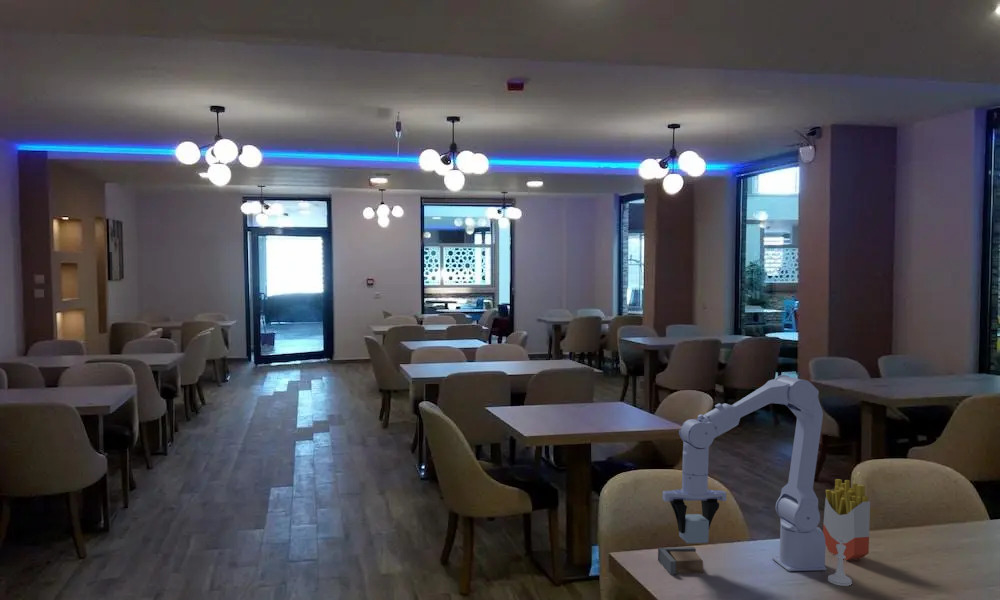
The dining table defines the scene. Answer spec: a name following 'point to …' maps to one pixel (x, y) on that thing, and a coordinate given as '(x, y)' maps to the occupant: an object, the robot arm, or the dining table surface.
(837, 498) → the french fries container
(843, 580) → the chess piece
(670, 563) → the corner jig
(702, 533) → the blue-grey cube
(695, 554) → the walnut block
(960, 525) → the dining table surface
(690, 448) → the robot arm
